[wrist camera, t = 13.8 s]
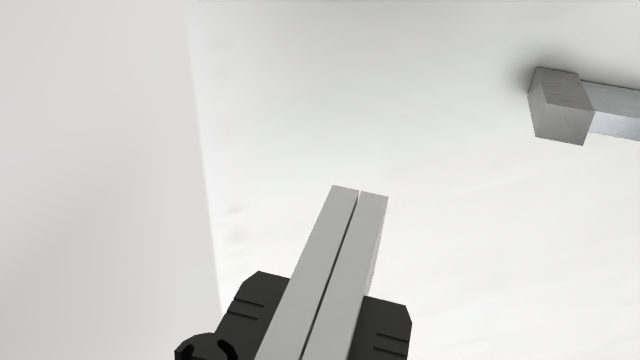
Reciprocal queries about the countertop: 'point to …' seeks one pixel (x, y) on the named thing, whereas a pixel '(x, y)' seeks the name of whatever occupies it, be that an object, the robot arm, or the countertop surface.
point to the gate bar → (581, 108)
